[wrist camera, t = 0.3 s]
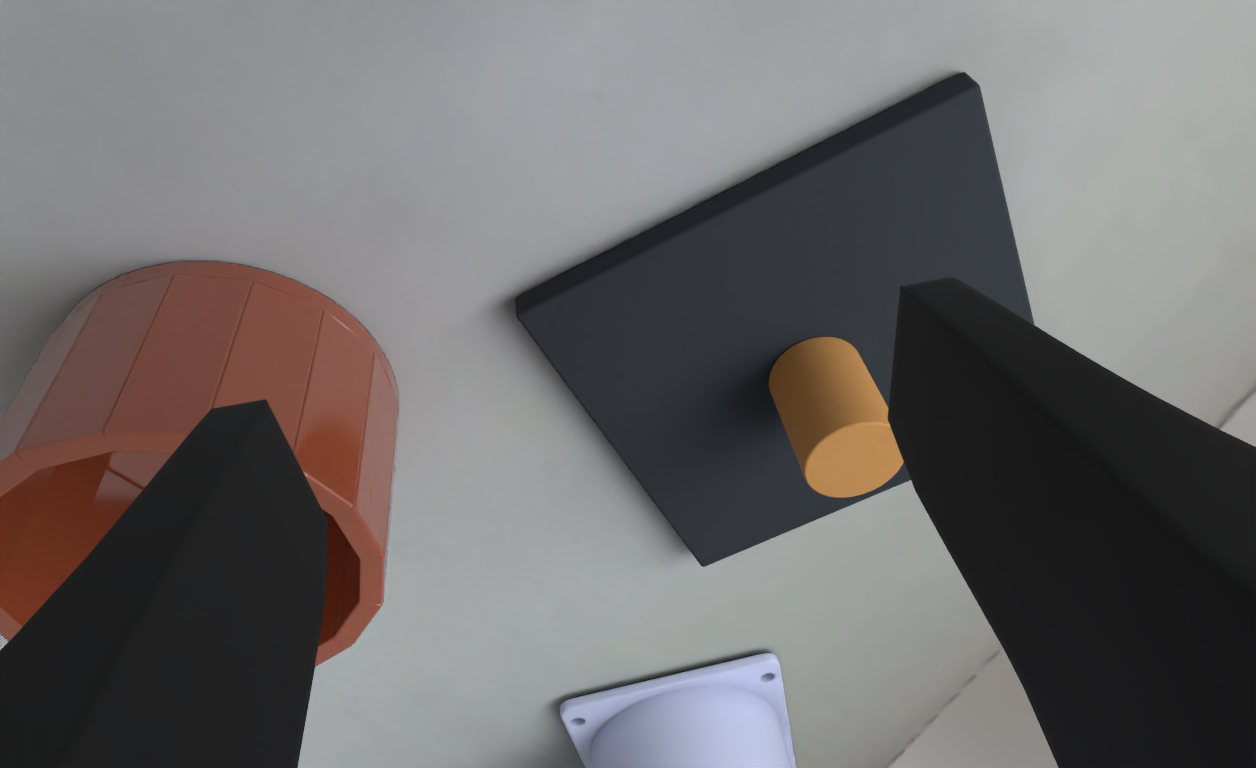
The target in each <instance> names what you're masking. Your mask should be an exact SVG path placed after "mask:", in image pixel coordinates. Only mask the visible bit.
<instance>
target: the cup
mask: <svg viewBox="0 0 1256 768" xmlns="http://www.w3.org/2000/svg"><path fill="white" fill-rule="evenodd" d="M264 399H266V400H267V402H268V404H269V406H270V408H271V410H272V412H273V414H274V416H275V417H276V419H277V421H278V423H279V425H280V427H281V429H282V431H283V433H284V435H285V437H286V439H287V441H288V443H289V445H290V447H291V449H292V451H293V453H294V455H295V457H296V459H297V461H298V463H299V465H300V467H301V469H302V471H303V473H304V475H305V477H306V479H307V481H308V483H309V485H310V487H311V489H312V491H313V493H314V494H315V496H316V498H317V500H318V502H319V504H320V506H321V508H322V510H323V512H324V514H325V516H326V518H327V520H328V541H327V578H326V600H325V607H324V614H323V620H322V627H321V633H320V639H319V645H318V651H317V657H316V663H315V666H317V665H319V664H321V663H322V662H324V661H326V660H328V659H329V658H331V657H333V656H335V655H336V654H338V653H340V652H342V651H343V650H345V649H347V648H349V647H350V646H352V644H354V643H355V642H356V640H357V639H358V637H359V636H360V635H361V633H362V632H363V631H364V629H365V628H366V627H367V625H368V624H369V623H370V621H371V620H372V618H373V617H374V616H375V614H376V613H377V612H378V610H379V609H380V608H381V606H382V603H383V602H384V590H385V578H386V566H387V554H388V542H389V530H390V518H391V507H392V495H393V483H394V471H395V459H396V447H397V428H398V415H399V396H398V389H397V384H396V380H395V376H394V374H393V371H392V369H391V366H390V364H389V361H388V359H387V358H386V356H385V354H384V353H383V351H382V349H381V347H380V346H379V344H378V343H377V342H376V341H375V339H374V338H373V337H372V336H371V334H370V333H369V332H368V330H367V329H366V328H365V327H364V326H363V325H362V324H361V323H360V322H359V321H357V320H356V319H355V318H354V317H353V316H352V315H351V314H350V313H349V312H347V311H346V310H345V309H343V308H342V307H341V306H339V305H338V304H337V303H336V302H334V301H332V300H331V299H329V298H327V297H326V296H324V295H323V294H321V293H319V292H318V291H316V290H314V289H312V288H310V287H308V286H306V285H303V284H301V283H299V282H297V281H295V280H293V279H290V278H287V277H284V276H281V275H278V274H275V273H273V272H270V271H266V270H262V269H257V268H253V267H249V266H245V265H238V264H231V263H223V262H205V261H189V262H176V263H167V264H161V265H156V266H151V267H146V268H143V269H139V270H136V271H133V272H130V273H127V274H124V275H122V276H120V277H117V278H115V279H113V280H111V281H109V282H107V283H105V284H103V285H101V286H100V287H98V288H97V289H96V290H94V291H93V292H91V293H90V294H88V295H87V296H86V297H84V298H83V299H82V300H81V301H80V302H79V303H78V304H77V305H76V306H75V307H74V308H73V309H72V310H71V312H70V313H69V314H68V316H67V317H66V318H65V320H64V321H63V323H62V324H61V325H60V326H59V327H57V328H56V329H55V331H54V332H53V333H52V335H51V337H50V338H49V340H48V342H47V343H46V345H45V347H44V348H43V350H42V352H41V354H40V355H39V357H38V359H37V360H36V362H35V364H34V366H33V367H32V369H31V371H30V372H29V374H28V376H27V377H26V379H25V381H24V383H23V384H22V386H21V388H20V389H19V391H18V393H17V394H16V396H15V398H14V400H13V401H12V403H11V405H10V406H9V408H8V410H7V411H6V413H5V415H4V417H3V418H2V420H1V422H0V634H1V635H2V636H3V637H4V638H5V639H6V640H8V641H10V640H11V639H12V638H13V637H14V636H15V635H16V634H17V632H18V631H19V630H20V629H21V628H22V627H23V626H24V625H25V624H26V623H27V622H28V620H29V619H30V618H31V617H32V616H33V615H34V614H35V613H36V612H37V611H38V609H39V608H40V607H41V606H42V605H43V604H44V603H45V602H46V601H47V600H48V599H49V597H50V596H51V595H52V594H53V593H54V592H55V591H56V590H57V589H58V588H59V587H60V585H61V584H62V583H63V582H64V581H65V580H66V579H67V578H68V577H69V576H70V574H71V573H72V572H73V571H74V570H75V569H76V568H77V567H78V566H79V565H80V564H81V562H82V561H83V560H84V559H85V558H86V557H87V556H88V555H89V553H90V552H91V551H92V550H93V549H94V548H95V546H96V545H97V544H98V543H99V542H100V540H101V539H102V538H103V537H104V536H105V534H106V533H107V532H108V531H109V530H110V529H111V527H112V526H113V525H114V524H115V523H116V521H117V520H118V519H119V518H120V517H121V515H122V514H123V513H124V512H125V511H126V510H127V508H128V507H129V506H130V505H131V504H132V502H133V501H134V500H135V499H136V498H137V496H138V495H139V494H140V493H141V492H142V490H143V489H144V488H145V487H146V486H147V484H148V483H149V482H150V481H151V479H152V478H153V477H154V476H155V475H156V473H157V472H158V471H159V470H160V469H161V467H162V466H163V465H164V464H165V462H166V461H167V460H168V459H169V458H170V456H171V455H172V454H173V453H174V452H175V450H176V449H177V448H178V447H179V445H180V444H181V443H182V442H183V441H184V439H185V438H186V437H187V436H188V435H189V434H190V432H191V431H192V430H193V429H194V428H195V427H196V425H197V424H198V423H199V422H200V421H201V420H202V419H203V418H204V416H205V415H206V414H207V413H208V412H209V411H210V410H211V409H213V408H219V407H224V406H230V405H235V404H241V403H247V402H252V401H258V400H264Z"/></svg>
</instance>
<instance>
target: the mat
mask: <svg viewBox="0 0 1256 768" xmlns="http://www.w3.org/2000/svg"><path fill="white" fill-rule="evenodd" d="M949 277H954V278H956V279H958V280H960V281H962V282H963V283H965V284H967V285H969V286H970V287H972V288H974V289H976V290H977V291H979V292H981V293H982V294H984V295H986V296H987V297H989V298H990V299H992V300H994V301H995V302H997V303H999V304H1000V305H1002V306H1004V307H1005V308H1007V309H1008V310H1010V311H1012V312H1013V313H1015V314H1016V315H1018V316H1020V317H1021V318H1023V319H1025V320H1026V321H1028V322H1029V323H1031V324H1033V325H1034V321H1033V317H1032V313H1031V308H1030V304H1029V300H1028V295H1027V291H1026V286H1025V282H1024V278H1023V273H1022V269H1021V265H1020V260H1019V256H1018V251H1017V247H1016V243H1015V238H1014V234H1013V230H1012V225H1011V221H1010V217H1009V212H1008V208H1007V203H1006V199H1005V195H1004V190H1003V186H1002V182H1001V177H1000V173H999V169H998V164H997V160H996V155H995V151H994V147H993V142H992V138H991V134H990V129H989V125H988V120H987V116H986V112H985V107H984V103H983V99H982V94H981V90H980V86H979V85H978V84H977V83H976V82H975V81H974V80H973V79H972V78H971V77H970V76H968V75H967V74H966V73H965V72H963V73H959V74H957V75H956V76H954V77H952V78H950V79H948V80H946V81H944V82H942V83H940V84H938V85H936V86H934V87H932V88H930V89H928V90H926V91H924V92H922V93H920V94H918V95H916V96H914V97H912V98H910V99H908V100H906V101H904V102H902V103H900V104H898V105H896V106H894V107H892V108H890V109H888V110H886V111H884V112H882V113H880V114H878V115H876V116H874V117H872V118H870V119H869V120H867V121H865V122H863V123H861V124H859V125H857V126H855V127H853V128H851V129H849V130H847V131H845V132H843V133H841V134H839V135H837V136H835V137H833V138H831V139H829V140H827V141H825V142H823V143H821V144H819V145H817V146H815V147H813V148H811V149H809V150H807V151H805V152H803V153H801V154H799V155H797V156H795V157H793V158H791V159H789V160H787V161H785V162H784V163H782V164H780V165H778V166H776V167H774V168H772V169H770V170H768V171H766V172H764V173H762V174H760V175H758V176H756V177H754V178H752V179H750V180H748V181H746V182H744V183H742V184H740V185H738V186H736V187H734V188H732V189H730V190H728V191H726V192H724V193H722V194H720V195H718V196H716V197H714V198H712V199H710V200H708V201H706V202H704V203H702V204H700V205H698V206H697V207H695V208H693V209H691V210H689V211H687V212H685V213H683V214H681V215H679V216H677V217H675V218H673V219H671V220H669V221H667V222H665V223H663V224H661V225H659V226H657V227H655V228H653V229H651V230H649V231H647V232H645V233H643V234H641V235H639V236H637V237H635V238H633V239H631V240H629V241H627V242H625V243H623V244H621V245H619V246H617V247H615V248H613V249H611V250H610V251H608V252H606V253H604V254H602V255H600V256H598V257H596V258H594V259H592V260H590V261H588V262H586V263H584V264H582V265H580V266H578V267H576V268H574V269H572V270H570V271H568V272H566V273H564V274H562V275H560V276H558V277H556V278H554V279H552V280H550V281H548V282H546V283H544V284H542V285H540V286H538V287H536V288H534V289H532V290H530V291H528V292H526V293H524V294H523V295H521V296H519V297H517V298H516V299H515V302H516V315H517V318H518V320H519V321H520V322H521V324H522V325H523V326H524V328H525V329H526V330H527V332H528V333H529V334H530V336H531V337H532V339H533V340H534V341H535V343H536V344H537V345H538V347H539V348H540V349H541V351H542V352H543V353H544V355H545V356H546V357H547V359H548V360H549V361H550V363H551V364H552V365H553V367H554V368H555V369H556V371H557V372H558V373H559V375H560V376H561V378H562V379H563V380H564V382H565V383H566V384H567V386H568V387H569V388H570V390H571V391H572V392H573V394H574V395H575V396H576V398H577V399H578V400H579V402H580V403H581V404H582V406H583V407H584V408H585V410H586V411H587V413H588V414H589V415H590V417H591V418H592V419H593V421H594V422H595V423H596V425H597V426H598V427H599V429H600V430H601V431H602V433H603V434H604V435H605V437H606V438H607V439H608V441H609V442H610V443H611V445H612V446H613V448H614V449H615V450H616V452H617V453H618V454H619V456H620V457H621V458H622V460H623V461H624V462H625V464H626V465H627V466H628V468H629V469H630V470H631V472H632V473H633V474H634V476H635V477H636V478H637V480H638V481H639V482H640V484H641V485H642V487H643V488H644V489H645V491H646V492H647V493H648V495H649V496H650V497H651V499H652V500H653V501H654V503H655V504H656V505H657V507H658V508H659V509H660V511H661V512H662V513H663V515H664V516H665V517H666V519H667V520H668V522H669V523H670V524H671V526H672V527H673V528H674V530H675V531H676V532H677V534H678V535H679V536H680V538H681V539H682V540H683V542H684V543H685V544H686V546H687V547H688V548H689V550H690V551H691V552H692V554H693V555H694V556H695V558H696V559H697V561H698V562H699V563H700V565H701V566H703V567H704V566H707V565H709V564H712V563H714V562H716V561H719V560H721V559H724V558H726V557H728V556H731V555H733V554H735V553H738V552H740V551H743V550H745V549H747V548H750V547H752V546H754V545H757V544H759V543H762V542H764V541H766V540H769V539H771V538H773V537H776V536H778V535H781V534H783V533H785V532H788V531H790V530H792V529H795V528H797V527H800V526H802V525H804V524H807V523H809V522H812V521H814V520H816V519H819V518H821V517H823V516H826V515H828V514H831V513H833V512H835V511H838V510H840V509H842V508H845V507H847V506H850V505H852V504H854V503H857V502H859V501H861V500H864V499H866V498H869V497H871V496H873V495H876V494H878V493H880V492H883V491H885V490H888V489H890V488H892V487H895V486H897V485H899V484H902V483H904V482H907V481H909V480H911V478H910V476H909V473H908V471H907V468H906V466H905V464H904V461H903V459H902V456H901V453H900V451H899V448H898V445H897V443H896V440H895V437H894V435H893V432H892V430H891V427H890V424H889V422H888V419H887V418H888V408H889V397H890V387H891V377H892V367H893V356H894V346H895V336H896V325H897V315H898V305H899V295H900V286H904V285H910V284H915V283H921V282H927V281H932V280H938V279H943V278H949Z"/></svg>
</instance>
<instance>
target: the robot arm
mask: <svg viewBox="0 0 1256 768" xmlns="http://www.w3.org/2000/svg"><path fill="white" fill-rule="evenodd" d="M887 419H888V422H889V424H890V427H891V430H892V432H893V435H894V437H895V440H896V443H897V445H898V448H899V451H900V453H901V456H902V459H903V461H904V464H905V466H906V468H907V471H908V473H909V476H910V478H911V481H912V483H913V486H914V488H915V490H916V493H917V494H918V496H919V498H920V500H921V502H922V504H923V506H924V507H925V509H926V511H927V513H928V515H929V517H930V518H931V520H932V522H933V524H934V526H935V527H936V529H937V531H938V533H939V535H940V536H941V538H942V540H943V542H944V544H945V545H946V547H947V549H948V551H949V553H950V554H951V556H952V558H953V560H954V561H955V563H956V565H957V567H958V569H959V570H960V572H961V574H962V576H963V577H964V579H965V581H966V583H967V585H968V586H969V588H970V590H971V592H972V593H973V595H974V597H975V599H976V600H977V602H978V604H979V606H980V608H981V609H982V611H983V613H984V615H985V616H986V618H987V620H988V622H989V624H990V625H991V627H992V629H993V631H994V632H995V634H996V636H997V638H998V640H999V641H1000V643H1001V645H1002V647H1003V648H1004V650H1005V652H1006V654H1007V656H1008V658H1009V660H1010V662H1011V664H1012V666H1013V668H1014V670H1015V672H1016V674H1017V675H1018V677H1019V679H1020V681H1021V683H1022V685H1023V687H1024V689H1025V692H1026V694H1027V696H1028V698H1029V701H1030V703H1031V705H1032V707H1033V710H1034V712H1035V714H1036V717H1037V719H1038V721H1039V723H1040V726H1041V728H1042V730H1043V733H1044V735H1045V737H1046V740H1047V742H1048V744H1049V747H1050V749H1051V751H1052V753H1053V756H1054V758H1055V760H1056V762H1057V765H1058V767H1059V768H1256V447H1254V446H1252V445H1250V444H1248V443H1246V442H1244V441H1242V440H1240V439H1238V438H1236V437H1233V436H1231V435H1229V434H1227V433H1225V432H1223V431H1221V430H1219V429H1217V428H1215V427H1213V426H1211V425H1209V424H1207V423H1206V422H1204V421H1202V420H1200V419H1198V418H1196V417H1194V416H1192V415H1190V414H1188V413H1186V412H1184V411H1182V410H1181V409H1179V408H1177V407H1175V406H1173V405H1171V404H1169V403H1167V402H1165V401H1163V400H1161V399H1159V398H1158V397H1156V396H1154V395H1152V394H1150V393H1148V392H1147V391H1145V390H1143V389H1141V388H1139V387H1138V386H1136V385H1134V384H1132V383H1130V382H1129V381H1127V380H1125V379H1123V378H1122V377H1120V376H1118V375H1116V374H1115V373H1113V372H1111V371H1109V370H1108V369H1106V368H1104V367H1102V366H1101V365H1099V364H1097V363H1096V362H1094V361H1092V360H1091V359H1089V358H1087V357H1085V356H1084V355H1082V354H1080V353H1079V352H1077V351H1075V350H1074V349H1072V348H1070V347H1069V346H1067V345H1065V344H1064V343H1062V342H1060V341H1059V340H1057V339H1055V338H1054V337H1052V336H1051V335H1049V334H1047V333H1046V332H1044V331H1042V330H1041V329H1039V328H1038V327H1036V326H1034V325H1033V324H1031V323H1029V322H1028V321H1026V320H1025V319H1023V318H1021V317H1020V316H1018V315H1016V314H1015V313H1013V312H1012V311H1010V310H1008V309H1007V308H1005V307H1004V306H1002V305H1000V304H999V303H997V302H995V301H994V300H992V299H990V298H989V297H987V296H986V295H984V294H982V293H981V292H979V291H977V290H976V289H974V288H972V287H970V286H969V285H967V284H965V283H963V282H962V281H960V280H958V279H956V278H954V277H949V278H943V279H938V280H932V281H927V282H921V283H915V284H910V285H904V286H900V295H899V305H898V315H897V325H896V336H895V346H894V356H893V367H892V377H891V387H890V397H889V408H888V418H887ZM327 541H328V520H327V518H326V516H325V514H324V512H323V510H322V508H321V506H320V504H319V502H318V500H317V498H316V496H315V494H314V493H313V491H312V489H311V487H310V485H309V483H308V481H307V479H306V477H305V475H304V473H303V471H302V469H301V467H300V465H299V463H298V461H297V459H296V457H295V455H294V453H293V451H292V449H291V447H290V445H289V443H288V441H287V439H286V437H285V435H284V433H283V431H282V429H281V427H280V425H279V423H278V421H277V419H276V417H275V416H274V414H273V412H272V410H271V408H270V406H269V404H268V402H267V400H266V399H264V400H258V401H252V402H247V403H241V404H235V405H230V406H224V407H219V408H213V409H211V410H210V411H209V412H208V413H207V414H206V415H205V416H204V418H203V419H202V420H201V421H200V422H199V423H198V424H197V425H196V427H195V428H194V429H193V430H192V431H191V432H190V434H189V435H188V436H187V437H186V438H185V439H184V441H183V442H182V443H181V444H180V445H179V447H178V448H177V449H176V450H175V452H174V453H173V454H172V455H171V456H170V458H169V459H168V460H167V461H166V462H165V464H164V465H163V466H162V467H161V469H160V470H159V471H158V472H157V473H156V475H155V476H154V477H153V478H152V479H151V481H150V482H149V483H148V484H147V486H146V487H145V488H144V489H143V490H142V492H141V493H140V494H139V495H138V496H137V498H136V499H135V500H134V501H133V502H132V504H131V505H130V506H129V507H128V508H127V510H126V511H125V512H124V513H123V514H122V515H121V517H120V518H119V519H118V520H117V521H116V523H115V524H114V525H113V526H112V527H111V529H110V530H109V531H108V532H107V533H106V534H105V536H104V537H103V538H102V539H101V540H100V542H99V543H98V544H97V545H96V546H95V548H94V549H93V550H92V551H91V552H90V553H89V555H88V556H87V557H86V558H85V559H84V560H83V561H82V562H81V564H80V565H79V566H78V567H77V568H76V569H75V570H74V571H73V572H72V573H71V574H70V576H69V577H68V578H67V579H66V580H65V581H64V582H63V583H62V584H61V585H60V587H59V588H58V589H57V590H56V591H55V592H54V593H53V594H52V595H51V596H50V597H49V599H48V600H47V601H46V602H45V603H44V604H43V605H42V606H41V607H40V608H39V609H38V611H37V612H36V613H35V614H34V615H33V616H32V617H31V618H30V619H29V620H28V622H27V623H26V624H25V625H24V626H23V627H22V628H21V629H20V630H19V631H18V632H17V634H16V635H15V636H14V637H13V638H12V639H11V640H10V641H9V642H8V643H7V644H6V645H5V646H4V647H3V648H2V649H1V650H0V768H297V767H298V761H299V755H300V749H301V744H302V738H303V732H304V726H305V721H306V715H307V709H308V703H309V698H310V692H311V686H312V680H313V675H314V669H315V663H316V657H317V651H318V645H319V639H320V633H321V627H322V620H323V614H324V607H325V600H326V578H327ZM560 715H561V719H562V721H563V723H564V725H565V727H566V729H567V731H568V733H569V735H570V737H571V739H572V741H573V743H574V745H575V747H576V749H577V751H578V753H579V756H580V758H581V760H582V762H583V764H584V766H585V768H796V764H795V758H794V752H793V746H792V739H791V733H790V727H789V720H788V714H787V708H786V702H785V695H784V689H783V683H782V676H781V670H780V665H779V661H778V658H777V656H776V655H774V654H772V653H762V654H758V655H754V656H750V657H745V658H741V659H737V660H733V661H728V662H724V663H720V664H716V665H712V666H707V667H703V668H699V669H695V670H690V671H686V672H682V673H678V674H673V675H669V676H665V677H661V678H656V679H652V680H648V681H644V682H639V683H635V684H631V685H627V686H623V687H618V688H614V689H610V690H606V691H601V692H597V693H593V694H589V695H584V696H580V697H576V698H572V699H568V700H566V701H564V702H563V703H562V704H561V705H560Z"/></svg>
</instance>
